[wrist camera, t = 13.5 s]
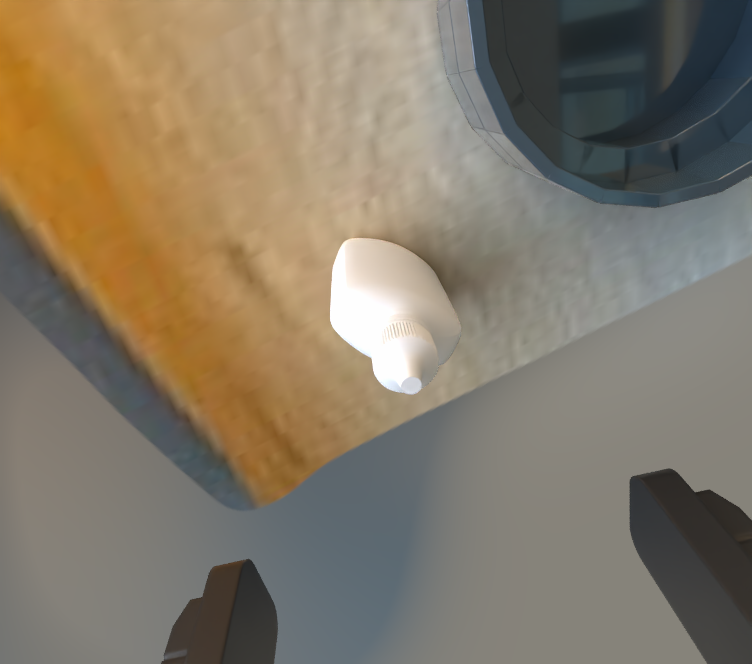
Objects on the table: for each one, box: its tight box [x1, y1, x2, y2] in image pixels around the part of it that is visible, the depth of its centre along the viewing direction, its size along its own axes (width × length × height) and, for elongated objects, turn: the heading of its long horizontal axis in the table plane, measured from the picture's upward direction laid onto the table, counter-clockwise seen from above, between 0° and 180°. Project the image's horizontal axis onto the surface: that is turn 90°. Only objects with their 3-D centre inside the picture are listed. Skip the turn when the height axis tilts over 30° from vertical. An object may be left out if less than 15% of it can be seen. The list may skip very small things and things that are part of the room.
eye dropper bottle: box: [330, 238, 462, 395], centre depth 22 cm, size 4×6×12 cm
